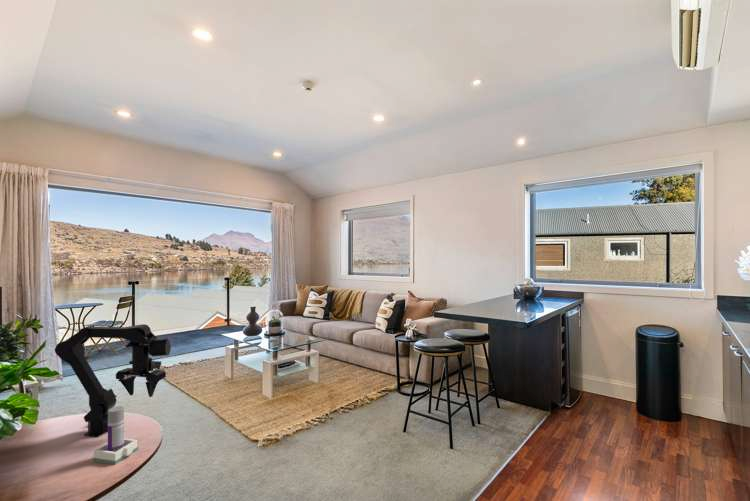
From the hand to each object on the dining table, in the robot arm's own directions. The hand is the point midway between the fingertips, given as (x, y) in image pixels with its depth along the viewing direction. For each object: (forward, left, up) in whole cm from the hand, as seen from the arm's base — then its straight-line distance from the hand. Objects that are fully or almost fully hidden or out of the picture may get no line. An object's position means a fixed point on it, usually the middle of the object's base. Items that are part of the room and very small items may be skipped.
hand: (141, 395), depth 143 cm
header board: (+7, -17, -13) cm, 23 cm away
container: (+7, -17, -12) cm, 22 cm away
